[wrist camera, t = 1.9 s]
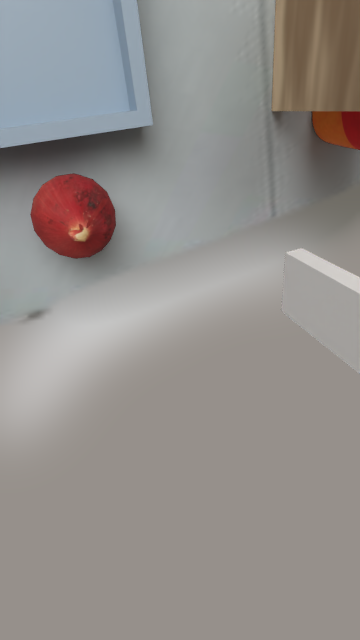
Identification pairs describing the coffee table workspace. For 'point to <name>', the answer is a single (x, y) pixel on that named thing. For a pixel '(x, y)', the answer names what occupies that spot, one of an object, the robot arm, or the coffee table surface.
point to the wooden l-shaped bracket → (316, 55)
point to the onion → (73, 216)
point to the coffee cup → (338, 127)
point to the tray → (70, 69)
